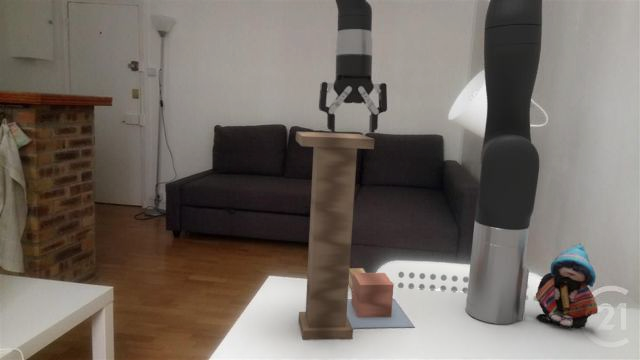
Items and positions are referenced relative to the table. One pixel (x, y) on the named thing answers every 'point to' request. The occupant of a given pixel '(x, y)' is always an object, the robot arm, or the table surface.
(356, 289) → the mallet
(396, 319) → the pad
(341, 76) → the robot arm
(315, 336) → the wooden pedestal column
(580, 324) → the figurine
